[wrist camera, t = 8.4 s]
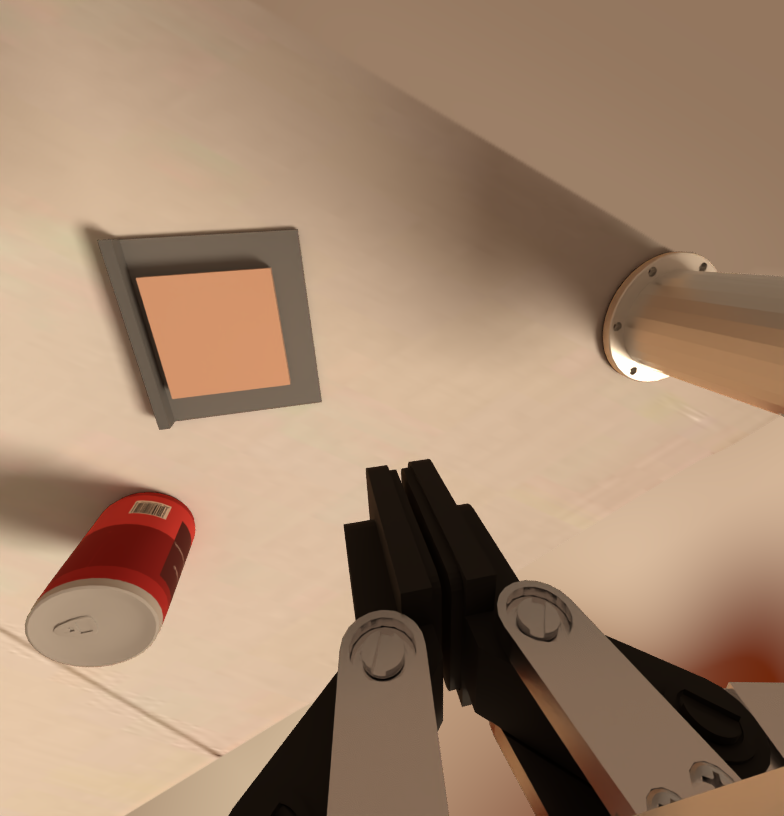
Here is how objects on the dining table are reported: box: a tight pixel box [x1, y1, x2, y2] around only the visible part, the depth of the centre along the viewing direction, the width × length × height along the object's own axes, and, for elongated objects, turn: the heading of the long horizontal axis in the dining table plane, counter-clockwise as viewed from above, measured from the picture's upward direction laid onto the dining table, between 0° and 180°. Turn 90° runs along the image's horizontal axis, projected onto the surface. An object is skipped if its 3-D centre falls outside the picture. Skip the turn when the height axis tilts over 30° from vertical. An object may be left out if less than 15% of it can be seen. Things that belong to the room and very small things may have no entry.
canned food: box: [25, 492, 195, 667], centre depth 31 cm, size 8×8×11 cm
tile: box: [136, 267, 291, 399], centre depth 30 cm, size 2×9×9 cm
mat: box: [97, 229, 322, 430], centre depth 31 cm, size 13×14×2 cm
